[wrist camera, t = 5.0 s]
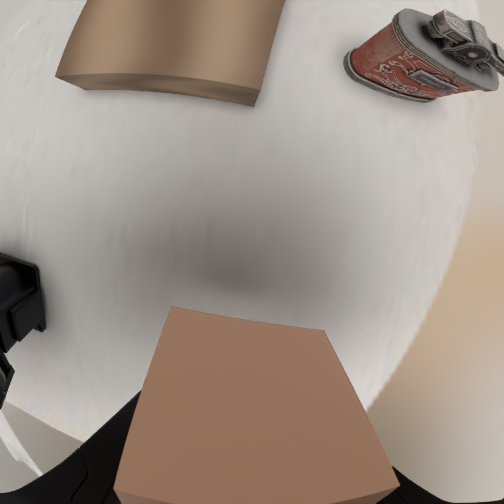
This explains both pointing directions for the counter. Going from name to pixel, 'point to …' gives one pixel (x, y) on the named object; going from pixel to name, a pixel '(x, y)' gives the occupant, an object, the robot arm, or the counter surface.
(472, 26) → the lighter
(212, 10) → the plate
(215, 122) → the counter surface
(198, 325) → the terracotta block
